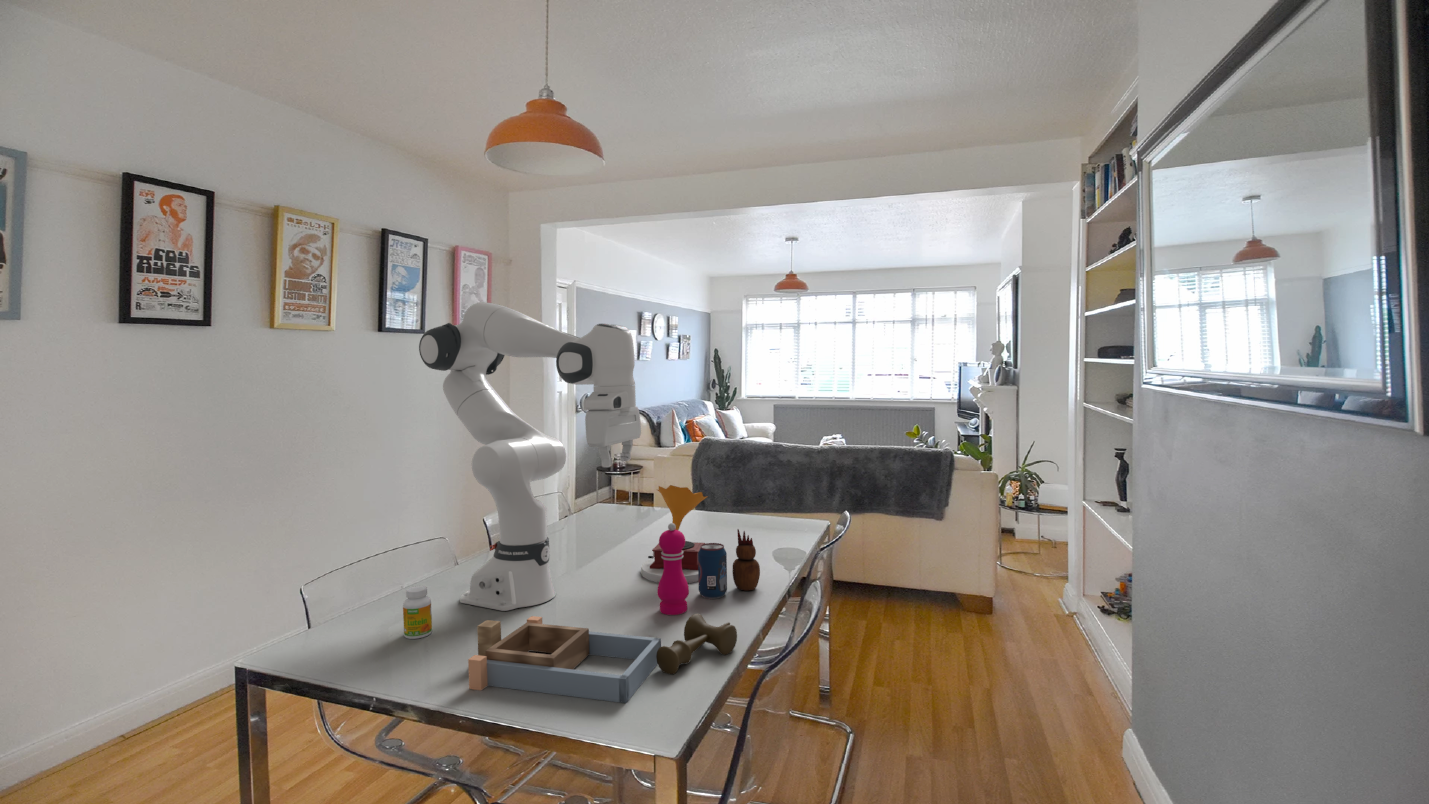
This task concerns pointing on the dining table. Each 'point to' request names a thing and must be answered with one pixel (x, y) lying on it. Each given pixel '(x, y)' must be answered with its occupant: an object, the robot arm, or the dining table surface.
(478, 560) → the dining table surface
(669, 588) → the pepper mill
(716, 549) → the soda can
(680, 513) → the gramophone
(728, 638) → the kendama
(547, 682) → the frame
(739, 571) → the wooden figurine
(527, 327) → the robot arm
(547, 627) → the wooden square frame
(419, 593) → the supplement bottle
